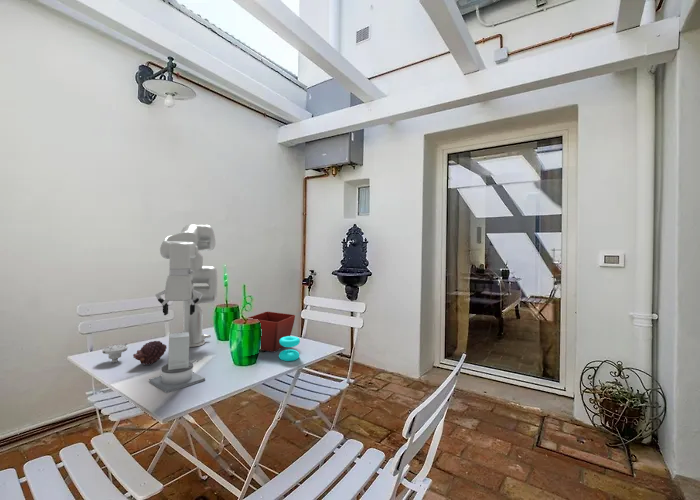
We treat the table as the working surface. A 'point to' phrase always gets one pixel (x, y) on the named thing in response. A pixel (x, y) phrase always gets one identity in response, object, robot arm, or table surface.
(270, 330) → the plant pot
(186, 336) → the supplement box
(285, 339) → the donuts
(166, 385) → the duct stub
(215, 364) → the table surface
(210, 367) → the table surface
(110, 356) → the showerhead
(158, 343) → the pine cone
